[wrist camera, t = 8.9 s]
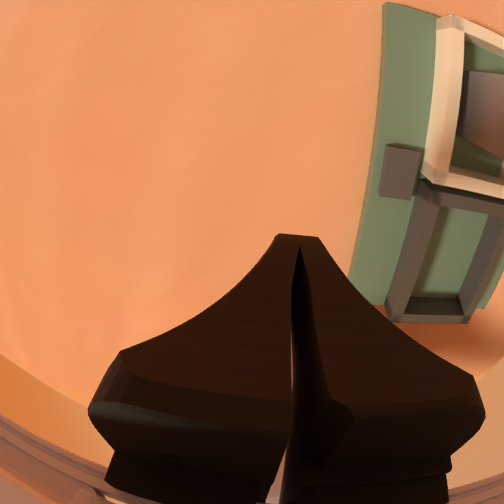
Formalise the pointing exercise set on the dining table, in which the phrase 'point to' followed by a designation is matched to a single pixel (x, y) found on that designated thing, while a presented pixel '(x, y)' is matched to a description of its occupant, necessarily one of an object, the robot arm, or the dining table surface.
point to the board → (429, 176)
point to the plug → (482, 111)
